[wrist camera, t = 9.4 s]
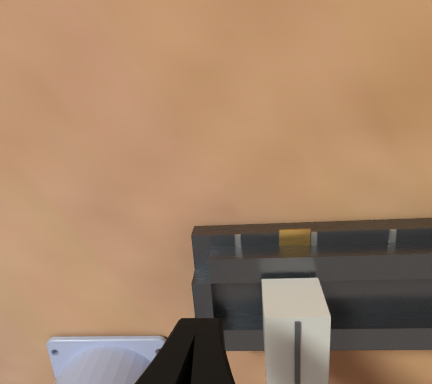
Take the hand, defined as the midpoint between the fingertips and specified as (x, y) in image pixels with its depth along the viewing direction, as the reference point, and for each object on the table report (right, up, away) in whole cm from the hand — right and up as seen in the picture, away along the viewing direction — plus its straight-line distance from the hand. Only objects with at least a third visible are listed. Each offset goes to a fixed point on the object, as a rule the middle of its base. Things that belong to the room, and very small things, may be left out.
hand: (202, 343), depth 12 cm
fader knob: (+4, -1, +9) cm, 10 cm away
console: (+10, 0, +10) cm, 14 cm away
